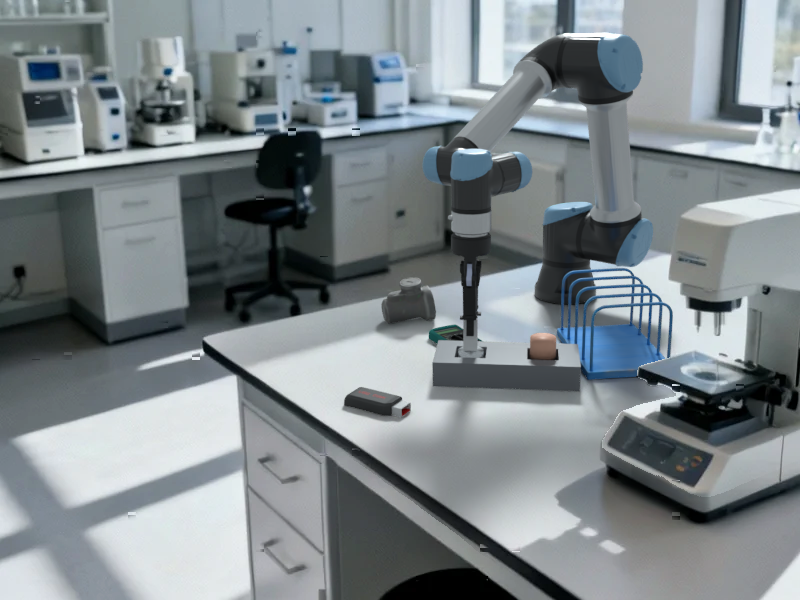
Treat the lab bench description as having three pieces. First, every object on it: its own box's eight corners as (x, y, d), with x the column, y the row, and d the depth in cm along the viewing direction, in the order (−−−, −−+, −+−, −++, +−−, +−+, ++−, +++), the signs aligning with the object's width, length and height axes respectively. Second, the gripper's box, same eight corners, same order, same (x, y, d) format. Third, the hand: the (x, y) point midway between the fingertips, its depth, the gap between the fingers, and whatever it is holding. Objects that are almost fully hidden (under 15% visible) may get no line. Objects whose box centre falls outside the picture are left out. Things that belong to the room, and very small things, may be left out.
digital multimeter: (460, 362, 191) (460, 349, 190) (427, 340, 204) (427, 327, 203) (491, 356, 194) (491, 343, 193) (456, 334, 207) (456, 322, 206)
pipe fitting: (431, 310, 220) (426, 271, 216) (439, 324, 213) (434, 283, 209) (381, 320, 218) (376, 280, 214) (388, 334, 211) (382, 293, 207)
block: (576, 367, 186) (577, 344, 185) (579, 391, 175) (580, 367, 173) (438, 362, 190) (438, 340, 188) (432, 386, 179) (432, 362, 177)
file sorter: (556, 336, 204) (558, 269, 199) (633, 332, 205) (637, 265, 200) (587, 380, 180) (590, 306, 175) (674, 376, 181) (680, 302, 177)
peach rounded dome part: (555, 352, 182) (556, 333, 181) (556, 361, 177) (556, 342, 176) (529, 351, 183) (530, 332, 182) (529, 360, 178) (530, 341, 177)
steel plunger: (484, 364, 185) (484, 346, 184) (482, 374, 180) (483, 355, 179) (459, 363, 186) (459, 345, 184) (457, 373, 181) (457, 354, 180)
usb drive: (360, 396, 176) (359, 383, 175) (413, 410, 169) (413, 396, 169) (344, 407, 172) (343, 393, 171) (398, 421, 165) (397, 407, 164)
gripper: (453, 224, 181) (454, 337, 188) (448, 240, 169) (448, 361, 176) (492, 224, 180) (490, 338, 187) (489, 241, 168) (488, 362, 175)
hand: (470, 349), depth 182 cm, fingers closed
